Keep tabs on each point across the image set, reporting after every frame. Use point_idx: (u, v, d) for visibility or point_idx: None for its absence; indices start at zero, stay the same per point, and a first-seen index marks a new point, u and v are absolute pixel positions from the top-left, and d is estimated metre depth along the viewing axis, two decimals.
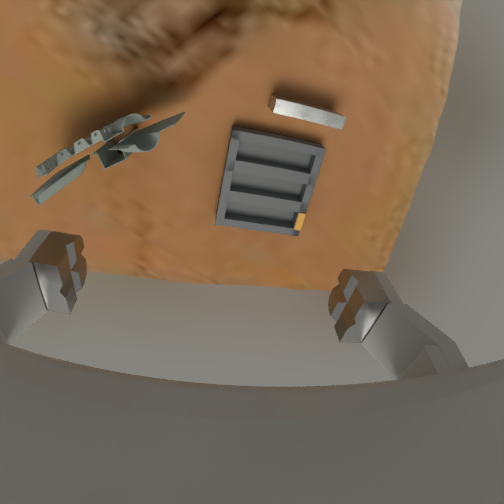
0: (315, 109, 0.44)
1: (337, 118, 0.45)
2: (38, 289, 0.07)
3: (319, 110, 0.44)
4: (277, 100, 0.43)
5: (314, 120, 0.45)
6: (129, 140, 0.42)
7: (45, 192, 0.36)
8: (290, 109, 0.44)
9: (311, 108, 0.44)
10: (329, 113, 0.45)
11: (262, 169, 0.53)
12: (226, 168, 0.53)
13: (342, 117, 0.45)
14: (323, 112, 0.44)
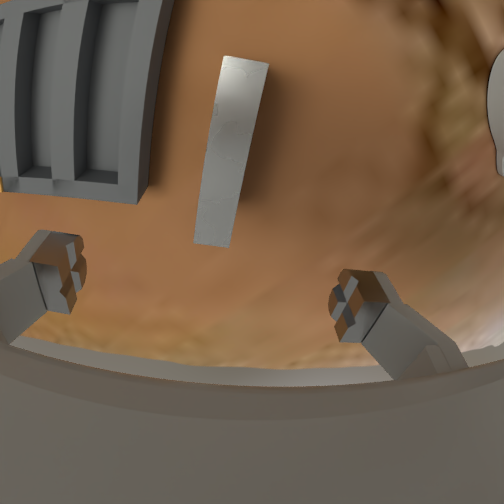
0: (241, 171, 0.17)
1: (222, 229, 0.20)
2: (38, 289, 0.07)
3: (238, 182, 0.18)
4: (263, 65, 0.14)
5: (208, 171, 0.17)
6: None
7: None
8: (237, 102, 0.15)
9: (243, 160, 0.17)
10: (233, 208, 0.19)
11: (67, 66, 0.15)
12: None
13: (226, 240, 0.20)
14: (234, 192, 0.18)
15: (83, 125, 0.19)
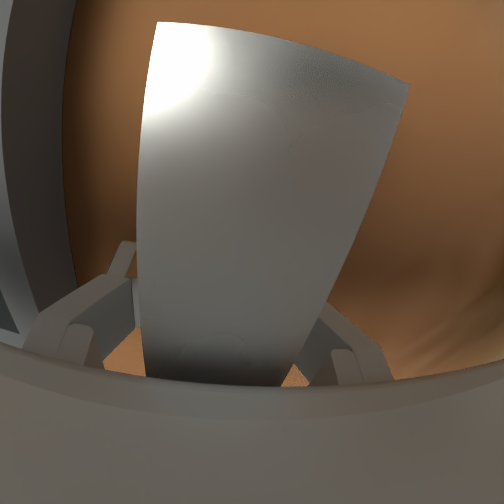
0: None
1: None
2: (132, 306, 0.07)
3: None
4: (387, 92, 0.02)
5: None
6: None
7: None
8: (239, 272, 0.03)
9: None
10: None
11: None
12: None
13: None
14: None
15: None
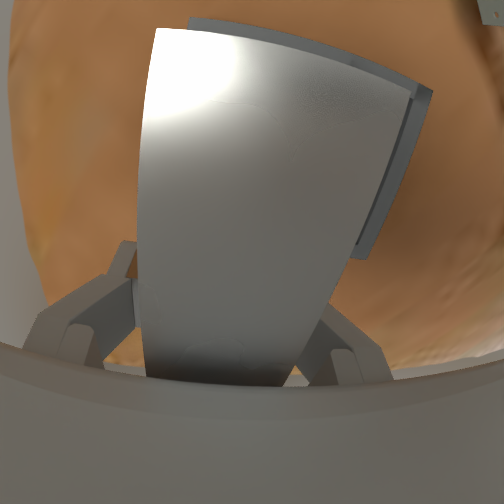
0: None
1: None
2: (132, 306, 0.07)
3: None
4: (388, 99, 0.02)
5: None
6: None
7: None
8: (240, 279, 0.04)
9: None
10: None
11: None
12: (357, 58, 0.17)
13: None
14: None
15: None
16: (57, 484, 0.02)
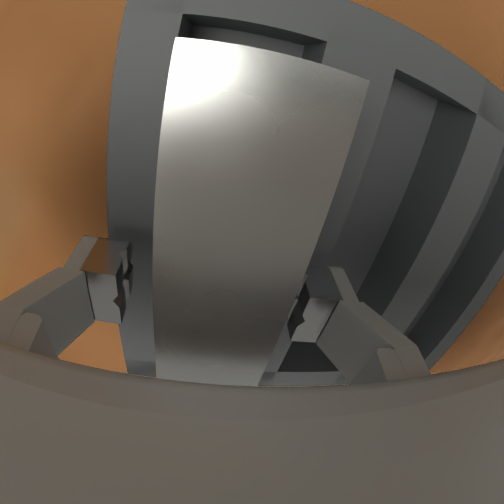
0: (250, 383, 0.07)
1: None
2: (89, 299, 0.07)
3: None
4: (350, 87, 0.03)
5: None
6: None
7: None
8: (237, 233, 0.04)
9: (256, 369, 0.06)
10: None
11: (449, 239, 0.10)
12: (492, 88, 0.07)
13: None
14: None
15: None
16: (57, 484, 0.02)
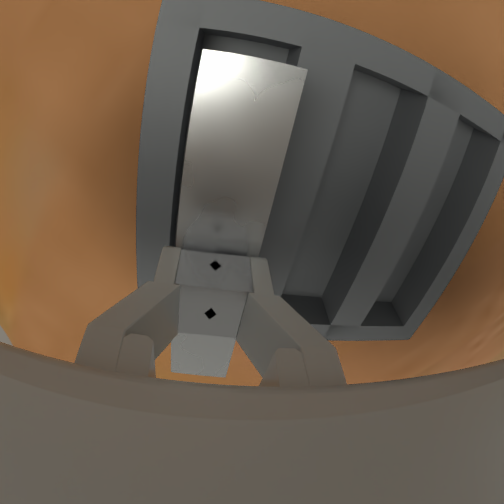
0: None
1: (214, 359, 0.12)
2: (179, 312, 0.07)
3: None
4: (295, 73, 0.06)
5: None
6: None
7: None
8: (234, 157, 0.07)
9: None
10: None
11: (413, 200, 0.13)
12: (441, 75, 0.10)
13: (221, 370, 0.12)
14: None
15: None
16: (57, 484, 0.02)
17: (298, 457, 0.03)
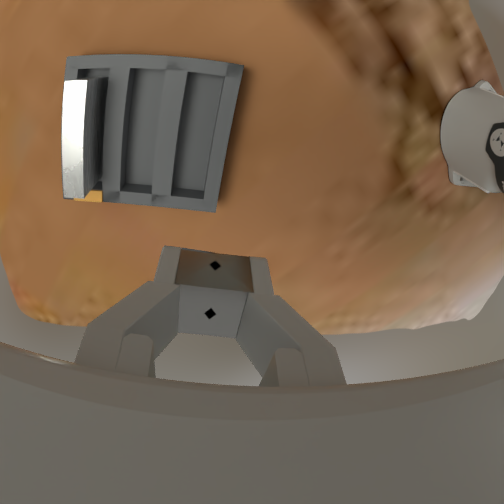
0: (81, 147, 0.24)
1: (77, 186, 0.26)
2: (178, 312, 0.07)
3: (81, 154, 0.24)
4: (84, 82, 0.20)
5: (64, 150, 0.24)
6: None
7: None
8: (73, 106, 0.22)
9: (81, 140, 0.24)
10: (81, 171, 0.25)
11: (171, 117, 0.28)
12: (172, 58, 0.24)
13: (81, 193, 0.27)
14: (79, 161, 0.25)
15: (175, 157, 0.32)
16: (57, 484, 0.02)
17: (298, 457, 0.03)
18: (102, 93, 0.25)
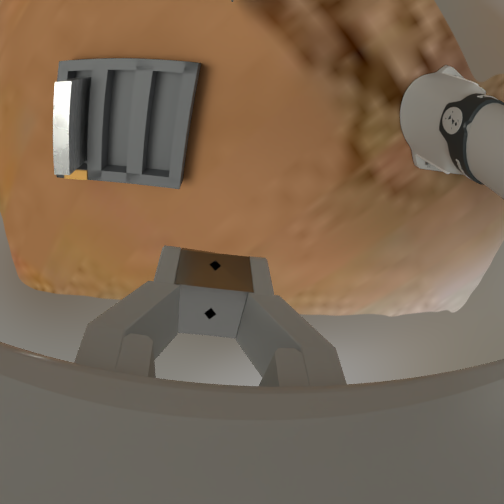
0: (67, 133, 0.29)
1: (64, 164, 0.31)
2: (178, 312, 0.07)
3: (67, 139, 0.29)
4: (69, 82, 0.25)
5: (55, 136, 0.29)
6: None
7: None
8: (61, 101, 0.26)
9: (67, 128, 0.28)
10: (67, 152, 0.30)
11: (140, 109, 0.33)
12: (140, 60, 0.29)
13: (67, 170, 0.32)
14: (66, 144, 0.30)
15: (146, 142, 0.37)
16: (57, 484, 0.02)
17: (298, 457, 0.03)
18: (87, 90, 0.30)
